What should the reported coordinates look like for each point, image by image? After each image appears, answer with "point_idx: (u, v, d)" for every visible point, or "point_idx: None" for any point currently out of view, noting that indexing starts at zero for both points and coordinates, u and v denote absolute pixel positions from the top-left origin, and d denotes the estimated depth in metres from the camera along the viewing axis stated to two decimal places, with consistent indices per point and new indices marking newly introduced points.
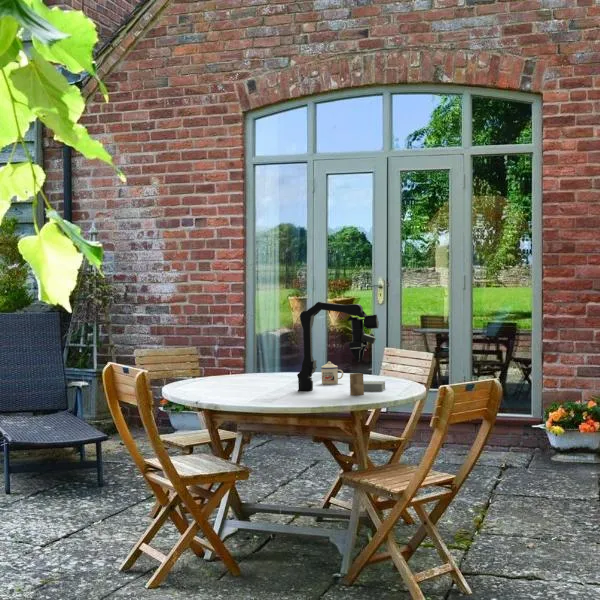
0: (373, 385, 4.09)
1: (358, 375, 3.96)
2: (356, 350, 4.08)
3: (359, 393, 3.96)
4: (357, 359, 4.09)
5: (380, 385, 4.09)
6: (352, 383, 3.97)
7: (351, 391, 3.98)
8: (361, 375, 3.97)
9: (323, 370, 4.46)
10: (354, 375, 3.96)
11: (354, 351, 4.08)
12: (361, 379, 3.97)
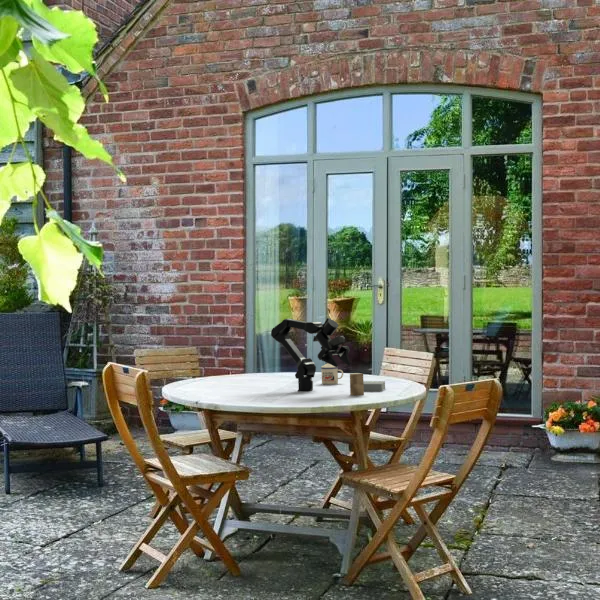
0: (373, 385, 4.09)
1: (358, 375, 3.96)
2: (328, 357, 4.02)
3: (359, 393, 3.96)
4: (335, 364, 4.01)
5: (380, 385, 4.09)
6: (352, 383, 3.97)
7: (351, 391, 3.98)
8: (361, 375, 3.97)
9: (323, 370, 4.46)
10: (354, 375, 3.96)
11: (327, 360, 4.02)
12: (361, 379, 3.97)
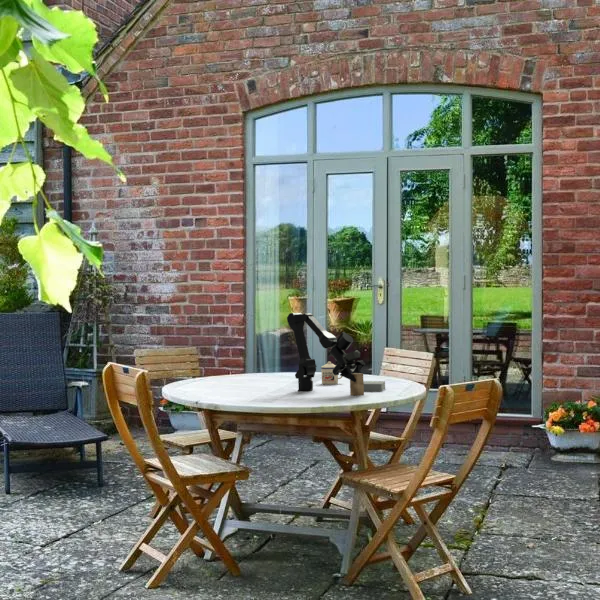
0: (373, 385, 4.09)
1: (358, 375, 3.96)
2: (347, 372, 3.97)
3: (359, 393, 3.96)
4: (353, 379, 3.96)
5: (380, 385, 4.09)
6: (352, 383, 3.97)
7: (351, 391, 3.98)
8: (361, 375, 3.97)
9: (323, 370, 4.46)
10: (354, 375, 3.96)
11: (346, 374, 3.97)
12: (361, 379, 3.97)
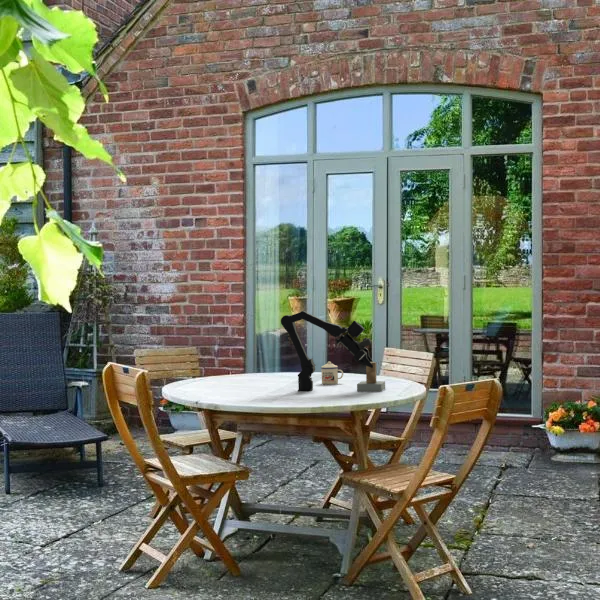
0: (373, 385, 4.09)
1: (375, 363, 4.14)
2: (363, 359, 4.10)
3: (375, 381, 4.14)
4: (371, 365, 4.11)
5: (380, 385, 4.09)
6: (369, 371, 4.14)
7: (367, 379, 4.14)
8: None
9: (323, 370, 4.46)
10: (372, 363, 4.13)
11: (363, 361, 4.10)
12: None
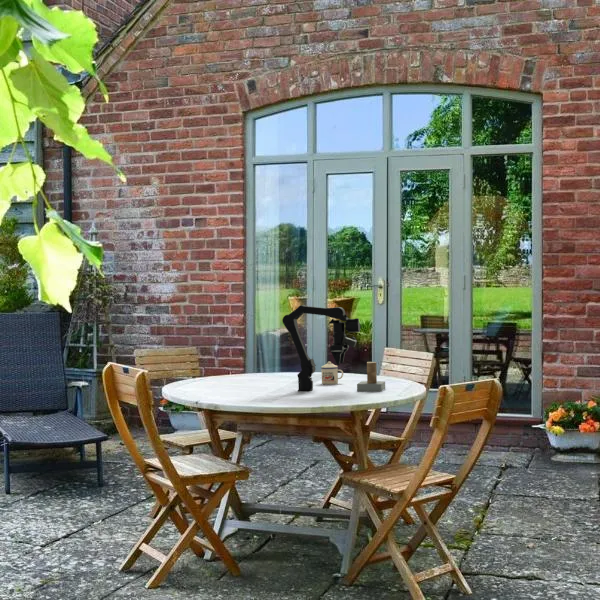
0: (373, 385, 4.09)
1: None
2: (337, 353, 4.11)
3: (376, 381, 4.14)
4: (338, 362, 4.12)
5: (380, 385, 4.09)
6: (369, 372, 4.13)
7: (368, 379, 4.13)
8: None
9: (323, 370, 4.46)
10: (372, 364, 4.13)
11: (335, 354, 4.11)
12: None
